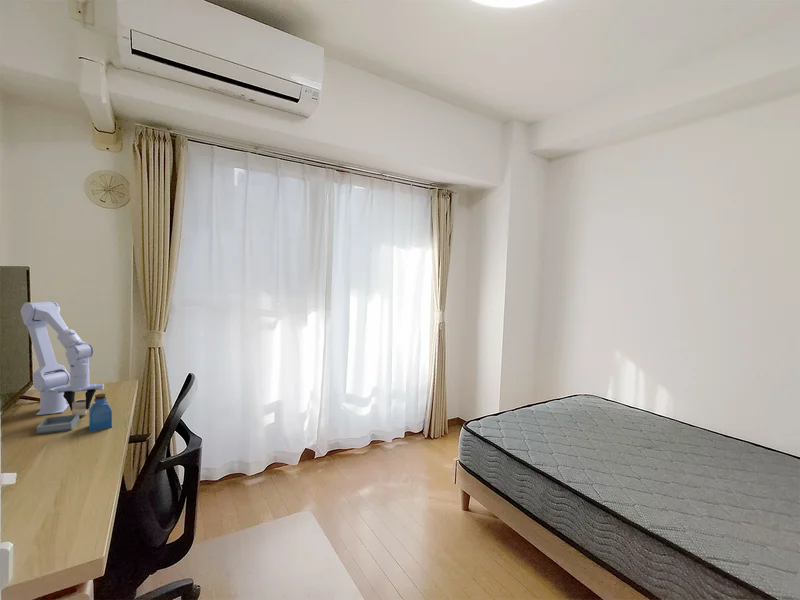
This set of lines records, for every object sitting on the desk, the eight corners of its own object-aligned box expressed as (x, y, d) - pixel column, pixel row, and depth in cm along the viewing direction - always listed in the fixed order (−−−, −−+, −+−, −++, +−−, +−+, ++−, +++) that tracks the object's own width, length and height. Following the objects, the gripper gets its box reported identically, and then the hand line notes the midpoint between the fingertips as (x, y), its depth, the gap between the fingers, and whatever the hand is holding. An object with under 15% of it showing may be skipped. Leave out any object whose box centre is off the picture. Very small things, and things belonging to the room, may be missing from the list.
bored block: (75, 412, 148) (75, 399, 148) (88, 410, 150) (88, 398, 150) (72, 415, 145) (72, 403, 144) (85, 414, 147) (85, 401, 146)
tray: (46, 424, 139) (46, 417, 139) (79, 420, 144) (79, 414, 143) (36, 434, 131) (36, 427, 131) (71, 430, 135) (71, 423, 135)
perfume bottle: (90, 431, 135) (89, 399, 134) (89, 425, 140) (89, 394, 139) (111, 427, 139) (111, 395, 138) (110, 422, 144) (110, 391, 143)
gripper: (51, 379, 139) (52, 415, 140) (100, 376, 146) (101, 410, 147) (58, 374, 146) (58, 408, 147) (105, 371, 152) (105, 404, 153)
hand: (80, 409), depth 147 cm, fingers closed on bored block, 4 cm apart
